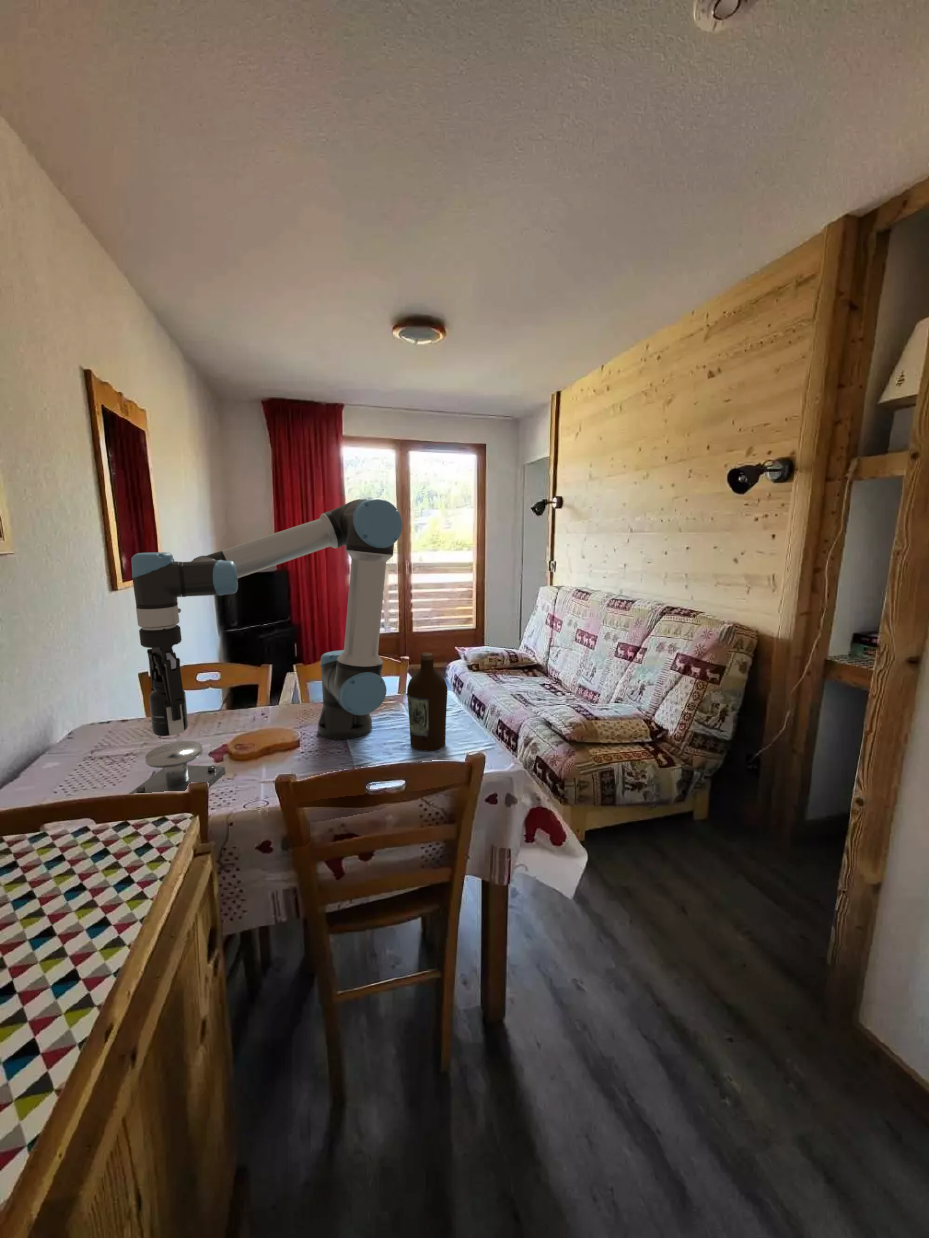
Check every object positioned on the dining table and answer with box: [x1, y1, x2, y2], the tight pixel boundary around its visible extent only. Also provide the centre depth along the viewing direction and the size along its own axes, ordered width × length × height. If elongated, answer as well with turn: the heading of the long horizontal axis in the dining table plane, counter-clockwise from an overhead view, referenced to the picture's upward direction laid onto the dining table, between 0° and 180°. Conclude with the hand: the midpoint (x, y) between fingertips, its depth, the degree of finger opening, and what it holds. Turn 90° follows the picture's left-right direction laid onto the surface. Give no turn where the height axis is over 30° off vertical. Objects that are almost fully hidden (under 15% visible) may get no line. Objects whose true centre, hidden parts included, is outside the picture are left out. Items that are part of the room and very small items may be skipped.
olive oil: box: [406, 652, 448, 752], centre depth 133 cm, size 11×11×25 cm
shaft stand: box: [128, 740, 226, 794], centre depth 113 cm, size 14×14×8 cm
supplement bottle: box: [148, 676, 189, 737], centre depth 110 cm, size 7×7×12 cm
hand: (171, 728), depth 111 cm, fingers closed on supplement bottle, 7 cm apart
